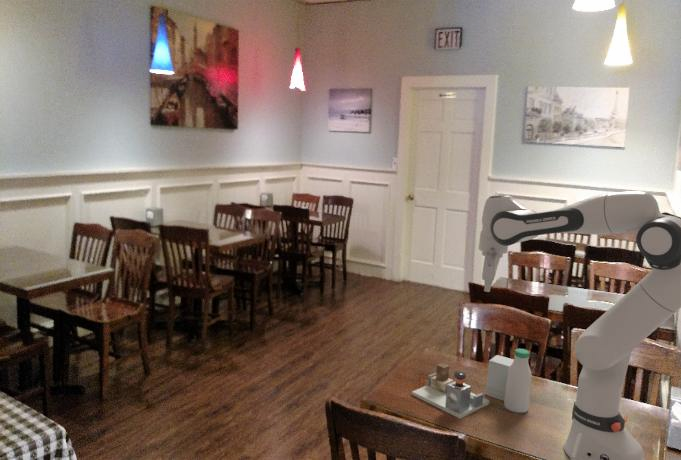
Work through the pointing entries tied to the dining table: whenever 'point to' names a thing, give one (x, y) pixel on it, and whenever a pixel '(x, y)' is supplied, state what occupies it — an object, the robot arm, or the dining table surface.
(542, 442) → the dining table surface
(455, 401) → the cabinet
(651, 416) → the dining table surface
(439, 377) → the carriage
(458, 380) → the knob
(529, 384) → the milk bottle
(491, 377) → the supplement box
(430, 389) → the rail bed
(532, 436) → the dining table surface
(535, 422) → the dining table surface
